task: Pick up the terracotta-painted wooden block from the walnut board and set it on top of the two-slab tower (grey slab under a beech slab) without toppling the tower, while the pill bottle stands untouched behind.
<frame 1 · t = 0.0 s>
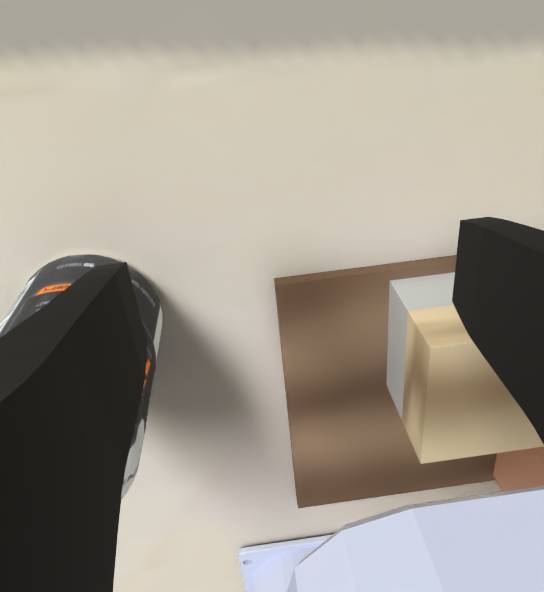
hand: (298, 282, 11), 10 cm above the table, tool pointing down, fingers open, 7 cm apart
board: (476, 379, 27), on the table
pill bottle: (95, 308, 23), on the table
slab bottom: (450, 327, 24), point 1 cm above the table, touching board, slab top
slab top: (473, 360, 22), point 3 cm above the table, touching slab bottom
block: (542, 438, 29), point 1 cm above the table, touching board
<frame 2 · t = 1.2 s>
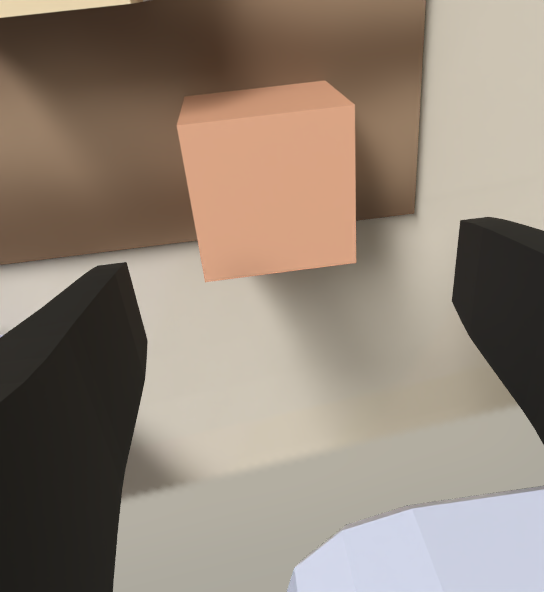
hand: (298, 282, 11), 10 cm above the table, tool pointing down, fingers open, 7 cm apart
board: (130, 36, 18), on the table
block: (262, 158, 20), point 1 cm above the table, touching board
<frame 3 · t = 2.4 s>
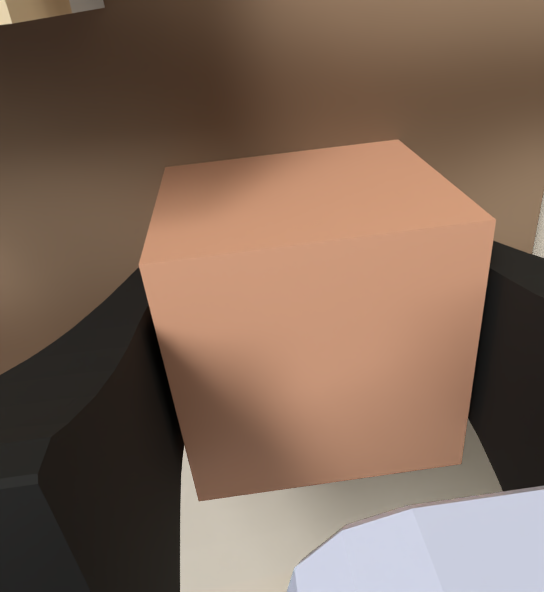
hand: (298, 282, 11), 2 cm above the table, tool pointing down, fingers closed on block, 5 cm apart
board: (73, 69, 10), on the table
block: (291, 257, 12), point 1 cm above the table, touching board, gripper
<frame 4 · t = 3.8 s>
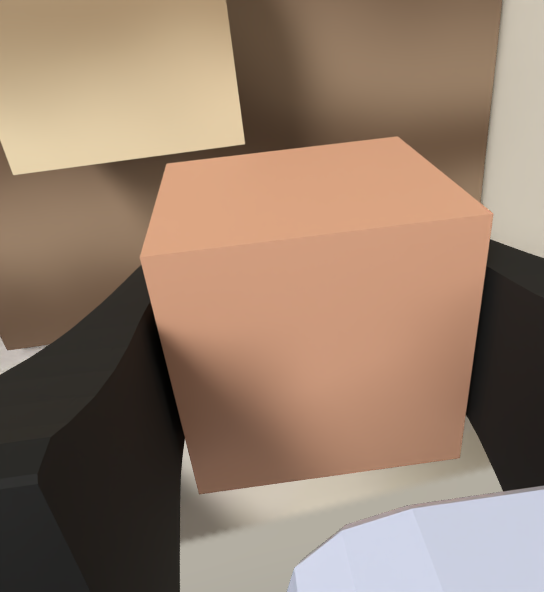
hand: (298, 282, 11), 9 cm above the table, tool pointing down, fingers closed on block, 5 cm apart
board: (213, 135, 19), on the table
slab top: (115, 23, 14), point 3 cm above the table, touching slab bottom
block: (291, 254, 12), point 8 cm above the table, touching gripper
when the fingers open (8 cm above the table, at t = 5.0 s): block stays where it is, resting on slab top.
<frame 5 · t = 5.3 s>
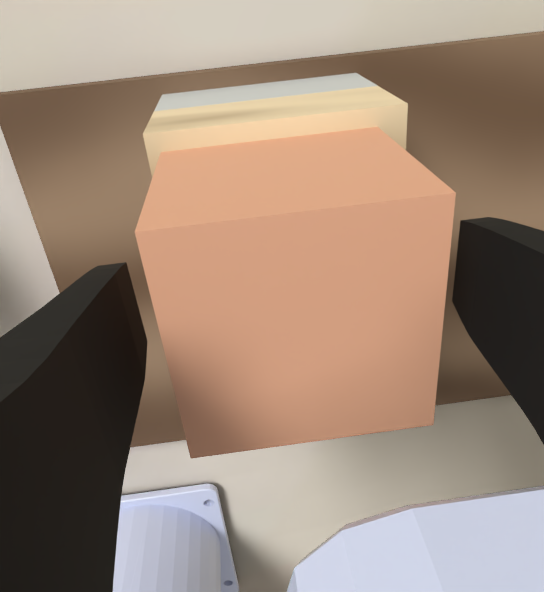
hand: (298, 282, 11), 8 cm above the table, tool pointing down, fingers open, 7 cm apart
board: (328, 267, 20), on the table
slab bottom: (268, 178, 17), point 1 cm above the table, touching board, slab top
slab top: (276, 204, 15), point 3 cm above the table, touching block, slab bottom
block: (279, 238, 13), point 6 cm above the table, touching slab top
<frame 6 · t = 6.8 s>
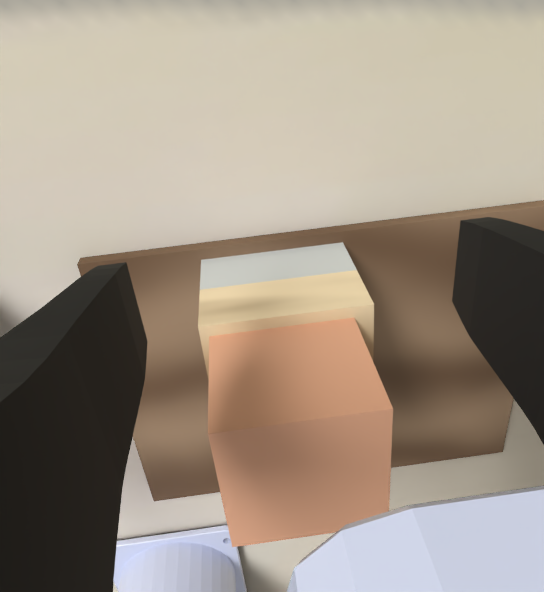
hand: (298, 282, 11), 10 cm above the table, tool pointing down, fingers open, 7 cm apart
board: (323, 366, 26), on the table
slab bottom: (278, 310, 23), point 1 cm above the table, touching board, slab top
slab top: (284, 343, 21), point 3 cm above the table, touching block, slab bottom
block: (287, 382, 19), point 6 cm above the table, touching slab top
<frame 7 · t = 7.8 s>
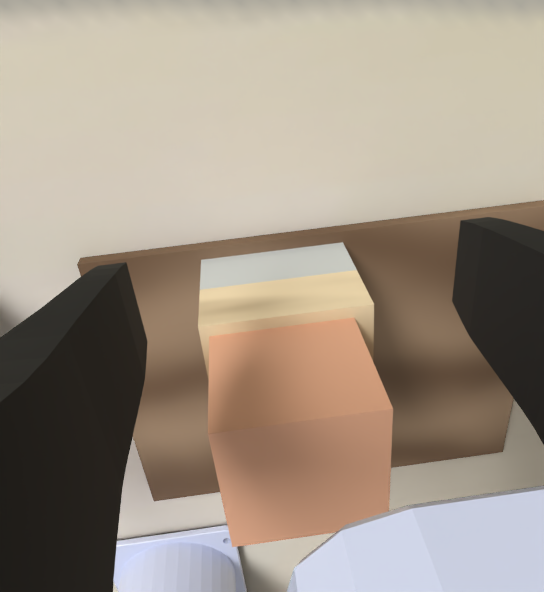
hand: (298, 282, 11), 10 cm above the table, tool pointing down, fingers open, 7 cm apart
board: (323, 366, 26), on the table
slab bottom: (278, 310, 23), point 1 cm above the table, touching board, slab top
slab top: (284, 343, 21), point 3 cm above the table, touching block, slab bottom
block: (287, 382, 19), point 6 cm above the table, touching slab top
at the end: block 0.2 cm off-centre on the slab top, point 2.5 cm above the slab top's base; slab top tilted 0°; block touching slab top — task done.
